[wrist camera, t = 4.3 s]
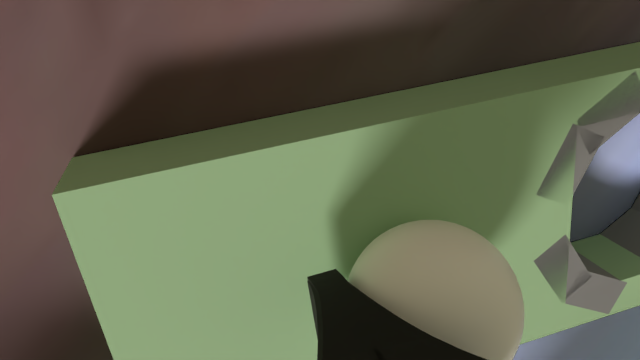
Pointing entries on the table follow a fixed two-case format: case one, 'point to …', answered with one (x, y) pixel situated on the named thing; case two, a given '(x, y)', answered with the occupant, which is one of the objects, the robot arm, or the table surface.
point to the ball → (445, 285)
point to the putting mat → (351, 207)
